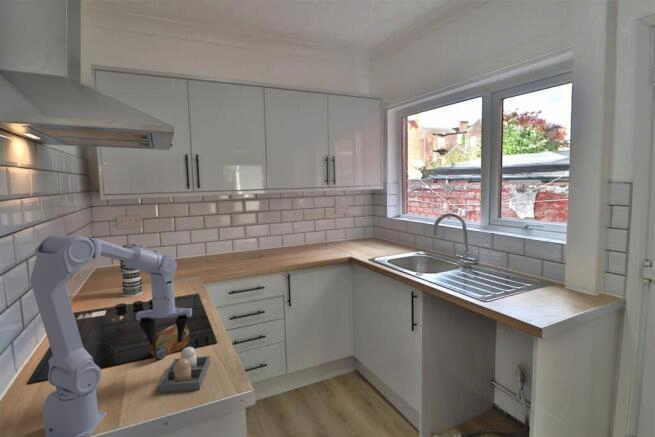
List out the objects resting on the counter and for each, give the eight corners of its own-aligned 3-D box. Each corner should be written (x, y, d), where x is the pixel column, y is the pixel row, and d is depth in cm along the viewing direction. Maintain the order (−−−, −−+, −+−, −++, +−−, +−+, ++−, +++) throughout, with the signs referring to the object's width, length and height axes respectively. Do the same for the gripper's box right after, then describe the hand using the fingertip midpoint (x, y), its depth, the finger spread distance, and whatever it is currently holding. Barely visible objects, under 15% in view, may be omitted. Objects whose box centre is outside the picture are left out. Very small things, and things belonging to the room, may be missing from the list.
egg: (180, 374, 101) (178, 351, 100) (184, 367, 105) (182, 344, 104) (195, 373, 101) (193, 350, 101) (198, 365, 105) (197, 343, 105)
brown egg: (173, 388, 94) (171, 363, 93) (177, 379, 98) (175, 356, 98) (189, 386, 95) (187, 362, 94) (193, 378, 99) (191, 354, 98)
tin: (156, 364, 108) (154, 337, 107) (149, 362, 109) (147, 336, 108) (192, 342, 122) (190, 319, 121) (185, 341, 123) (183, 318, 122)
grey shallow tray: (159, 394, 92) (158, 385, 92) (175, 367, 106) (174, 358, 106) (199, 390, 94) (199, 381, 93) (210, 364, 107) (209, 355, 107)
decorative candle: (117, 297, 172) (113, 246, 169) (130, 291, 181) (126, 242, 178) (135, 297, 171) (130, 246, 168) (147, 291, 180) (143, 243, 177)
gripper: (193, 290, 105) (196, 333, 107) (141, 293, 104) (145, 337, 105) (186, 298, 98) (190, 344, 100) (131, 301, 97) (135, 348, 98)
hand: (166, 341), depth 102 cm, fingers open, 7 cm apart
